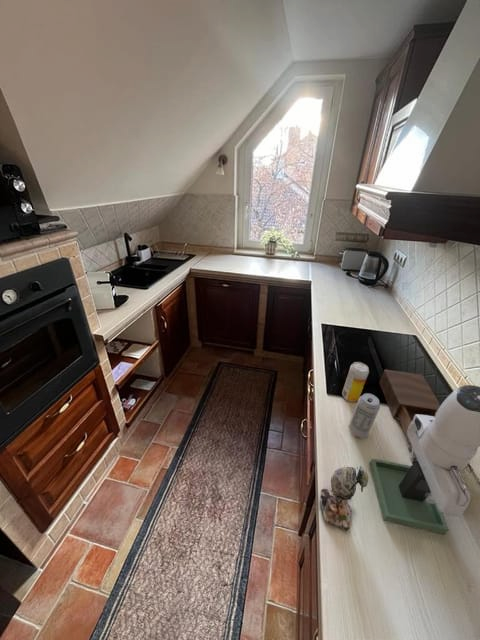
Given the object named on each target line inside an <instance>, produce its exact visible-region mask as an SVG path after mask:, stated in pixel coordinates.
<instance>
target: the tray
mask: <svg viewBox="0 0 480 640" xmlns="http://www.w3.org/2000/svg"><path fill="white" fill-rule="evenodd" d="M411 466H412V465H408V464H405V463H404V464H402V463H398V462H393V461H388V460H383V459H378V458H370V461H369V468H370V471H371V476H372V480H373V483H374V488H375V492H376V497H377V501H378V504H379V509H380V513H381V518H382V520H383V521H382V522H387V523H391V524H396V525H400V526H404V527H409V528H414V529H417V530H423V531H425V532H426V531H427V532H431V533H435V532H436V533H435V534H439V533H440V534H439V535H446V533H447V532H448V531H449V528H448V525H447V522H446V521H445V517H444V516H443V515H444V514H443V513H441V512H440V511H439V510H438V508H437V505H436V503H435V504H431V503H427V502H426V499H425V500H424V501H423V502H422V501H417V500H412V499H407V498H403V497H402V495H401V492H400V488H399V484H400V483H401V481H402V480H403V478H404V477H405V475H406V474H407V472H408V471H409V469H410V468H411ZM430 493H431V492H430Z"/></svg>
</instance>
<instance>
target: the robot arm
mask: <svg viewBox="0 0 480 640" xmlns="http://www.w3.org/2000/svg"><path fill="white" fill-rule="evenodd" d="M440 405H441V406H440V407H439V409H438V410H437V412H436V414H435V417H433V416H428V415H420V414H415V416H414V418H413V421H412V422H411V424H410V425H409V427H408V430H407V435H408V438H409V440H410V442H411V445H412V452H411V456H410V457H409V460H410V463H411V465H413V463H417V464H420V467H421V469H422V471H423V474H424V476H425V479H426V481H427V484H428V486H429V488H430V491H431V493H429V492H426V493H425V495H424V496H425V499H426V502H427V503H431V504H435V503H436V505H437V508H438V510H439V511H440V512H441V513H442V515H446V516H450V517H453V518H459V517H461V516H462V515H463V514H464V512H465V511H466V509H467V507H468V506H469V504H470V501H471V494H470V491H469V488H468V485H467V483H466V482H465V480H464V479H463V476H462V474H461V472H460V471H463V470H464V469H465V468H466V467H467V466H468V465H469V463H470V462H471V461H472V460H473V458H475V456H476V455H477V453H478V450H479V447H480V386H479V385H473V384H466V385H460V386H459V387H457V388H455V389H454V390H453V391H452V392H451V393H450V394H449V395H448V396H447V397H446V398H445V399H444V400H443V402H441V404H440Z"/></svg>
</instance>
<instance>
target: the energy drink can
mask: <svg viewBox="0 0 480 640" xmlns="http://www.w3.org/2000/svg"><path fill="white" fill-rule="evenodd" d="M356 402H357V403H356V405H355V408H354V410H353V412H352V416H351V419H350V420H349V421H350V422H349V424H348V428H349V430H350V433H351V434H352V435H353V436H354V437H357V438H366V437H367V436H368V435H369V433H370V432H371V429H372V427H373V425H374V422H375V420H376V418H377V416H378V413H379V411H380V409H381V404H380V399H379V398H378V397H377V396H376V395H375V394H372V393H369V392H366V393H365V392H364V393H363V394H362V395H360V397H359V400H358V401H356Z"/></svg>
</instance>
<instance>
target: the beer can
mask: <svg viewBox="0 0 480 640" xmlns="http://www.w3.org/2000/svg"><path fill="white" fill-rule="evenodd" d="M369 373H370V370H369V366H368V364H365V363H364V362H361V361H354V362H353V363H352V364H351V365H350V367H349V370H348V372H347V376H346V379H345V383H344V386H343V388H342V391H341V395H342V397H343V398H344V400H346V401H347V402H349V403H355V402H358V400H359V398H360V397H361V396H362V395H361V394H362V392H363V389H364V386H365V384H366V382H367V378H368V376H369Z"/></svg>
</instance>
